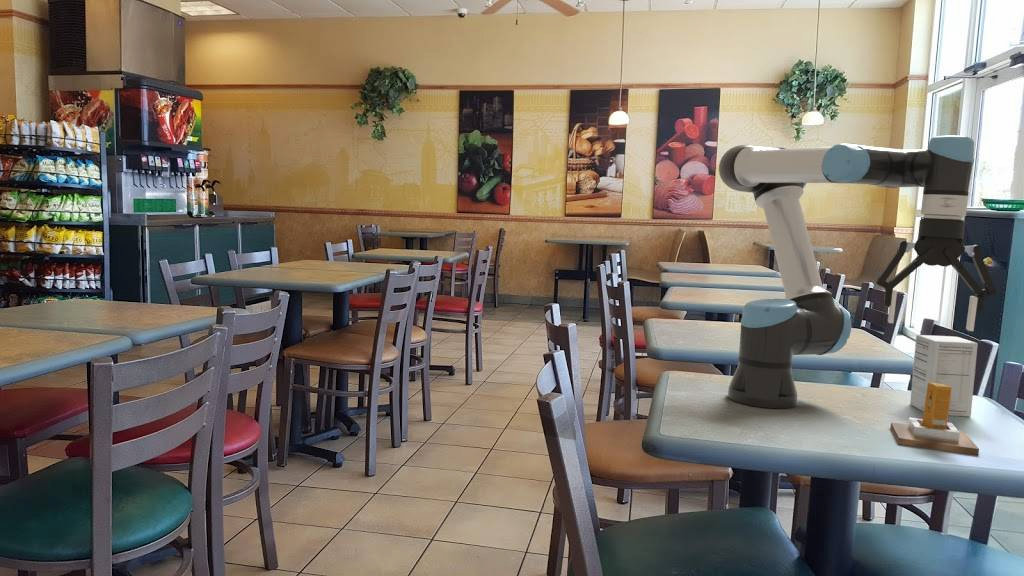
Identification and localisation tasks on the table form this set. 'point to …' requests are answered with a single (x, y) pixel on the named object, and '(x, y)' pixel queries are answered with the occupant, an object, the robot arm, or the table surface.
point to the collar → (933, 431)
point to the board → (933, 441)
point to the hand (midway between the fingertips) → (929, 326)
